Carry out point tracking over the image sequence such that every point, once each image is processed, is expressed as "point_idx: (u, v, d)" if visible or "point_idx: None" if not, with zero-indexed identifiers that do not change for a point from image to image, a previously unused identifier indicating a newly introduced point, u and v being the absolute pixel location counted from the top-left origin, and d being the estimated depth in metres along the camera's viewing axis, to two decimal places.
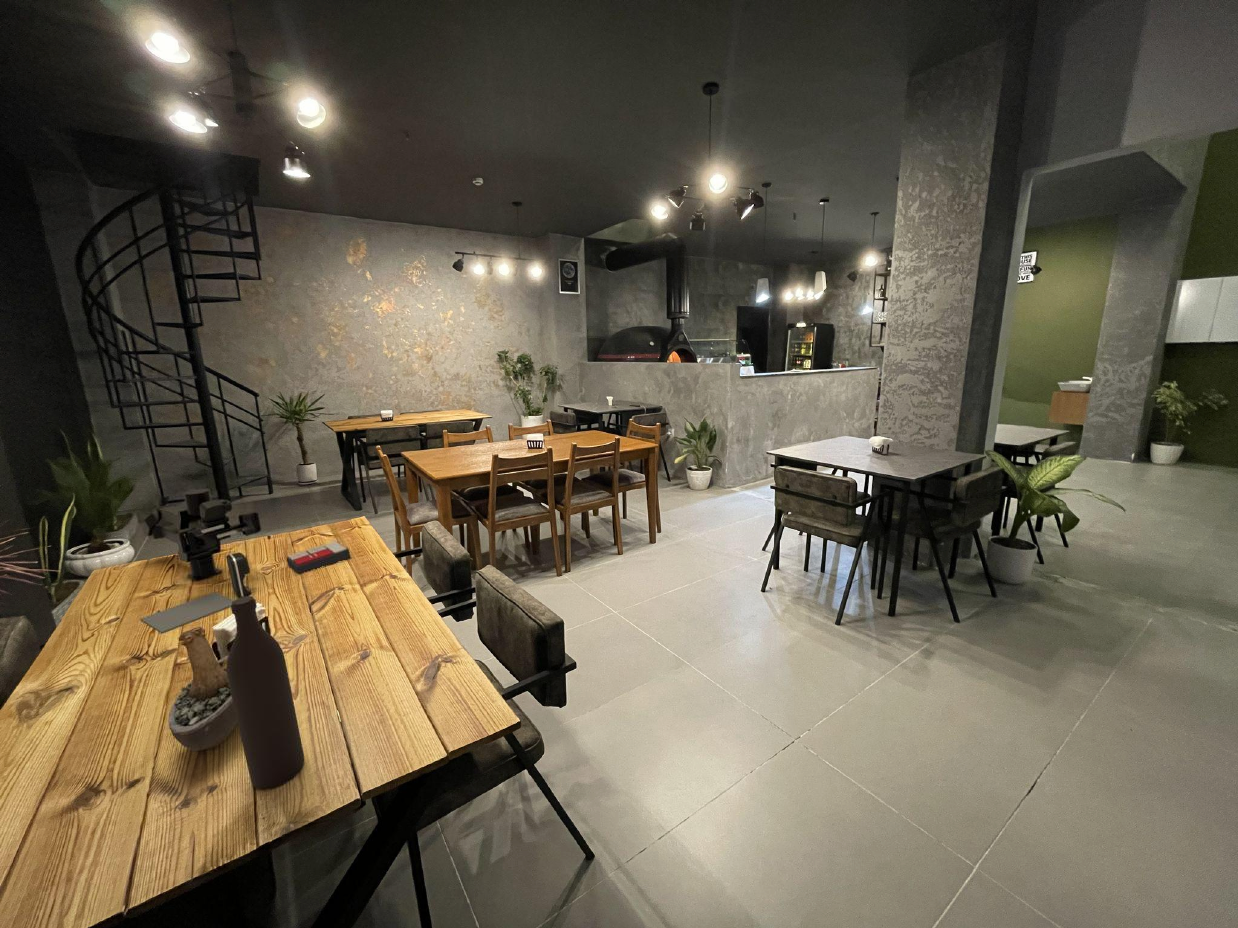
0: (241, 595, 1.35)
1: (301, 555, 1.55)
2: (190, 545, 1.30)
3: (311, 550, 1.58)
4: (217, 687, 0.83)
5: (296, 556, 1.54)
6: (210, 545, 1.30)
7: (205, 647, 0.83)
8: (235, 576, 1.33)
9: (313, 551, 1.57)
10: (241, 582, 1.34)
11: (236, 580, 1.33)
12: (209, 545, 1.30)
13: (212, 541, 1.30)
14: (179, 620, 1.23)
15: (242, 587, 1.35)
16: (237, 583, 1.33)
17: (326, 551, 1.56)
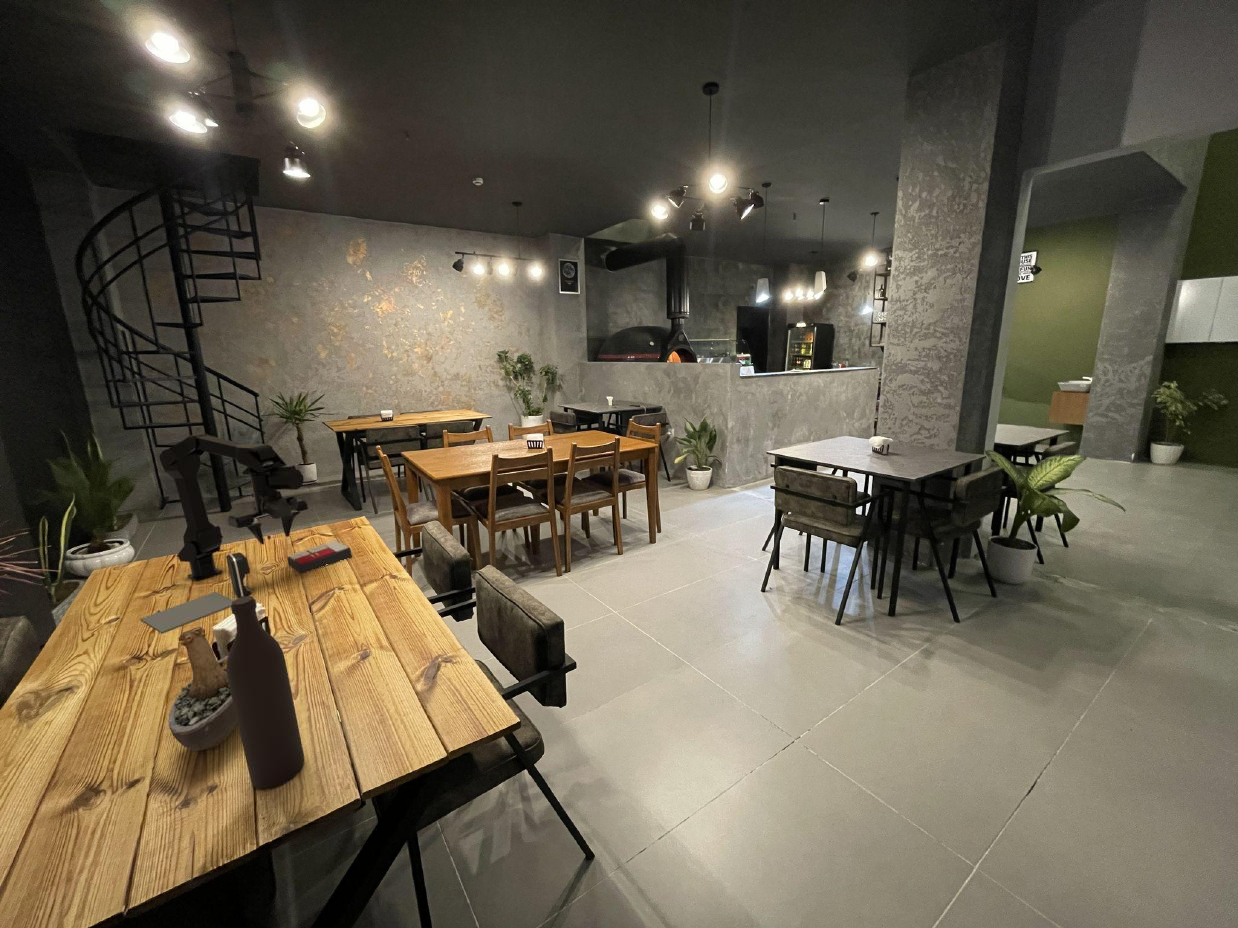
0: (241, 595, 1.35)
1: (302, 554, 1.55)
2: None
3: (312, 549, 1.58)
4: (217, 687, 0.83)
5: (297, 556, 1.54)
6: (257, 538, 1.40)
7: (205, 647, 0.83)
8: (235, 576, 1.33)
9: (314, 550, 1.57)
10: (241, 582, 1.34)
11: (236, 580, 1.33)
12: None
13: (261, 542, 1.40)
14: (179, 620, 1.23)
15: (242, 587, 1.35)
16: (237, 583, 1.33)
17: (327, 550, 1.57)
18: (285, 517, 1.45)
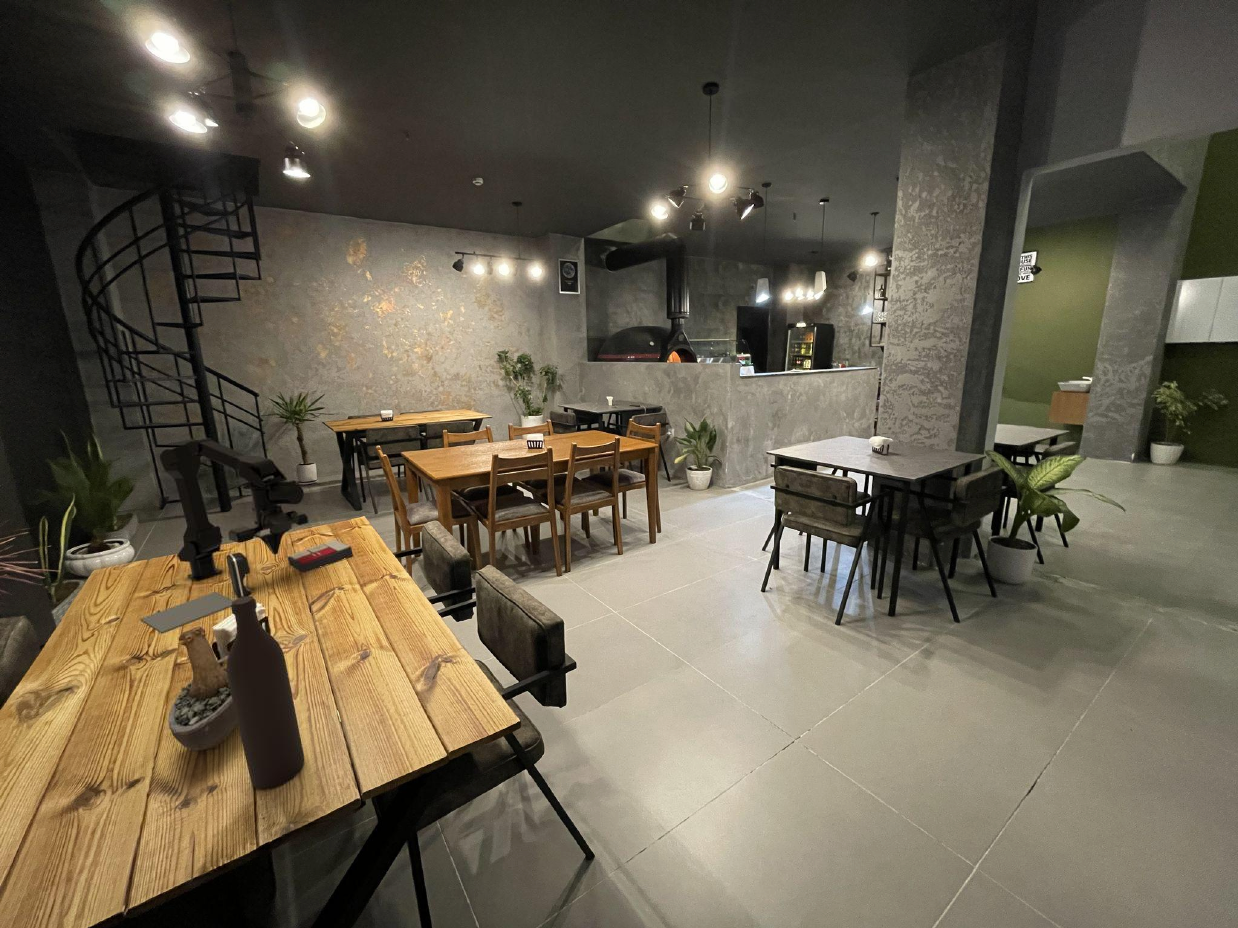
0: (241, 595, 1.35)
1: (303, 554, 1.55)
2: None
3: (312, 549, 1.59)
4: (217, 686, 0.83)
5: (298, 555, 1.55)
6: None
7: (205, 647, 0.83)
8: (235, 576, 1.33)
9: (315, 550, 1.58)
10: (241, 582, 1.34)
11: (236, 580, 1.33)
12: (269, 548, 1.43)
13: (273, 552, 1.43)
14: (179, 620, 1.23)
15: (242, 587, 1.35)
16: (237, 583, 1.33)
17: (329, 549, 1.58)
18: (274, 534, 1.43)
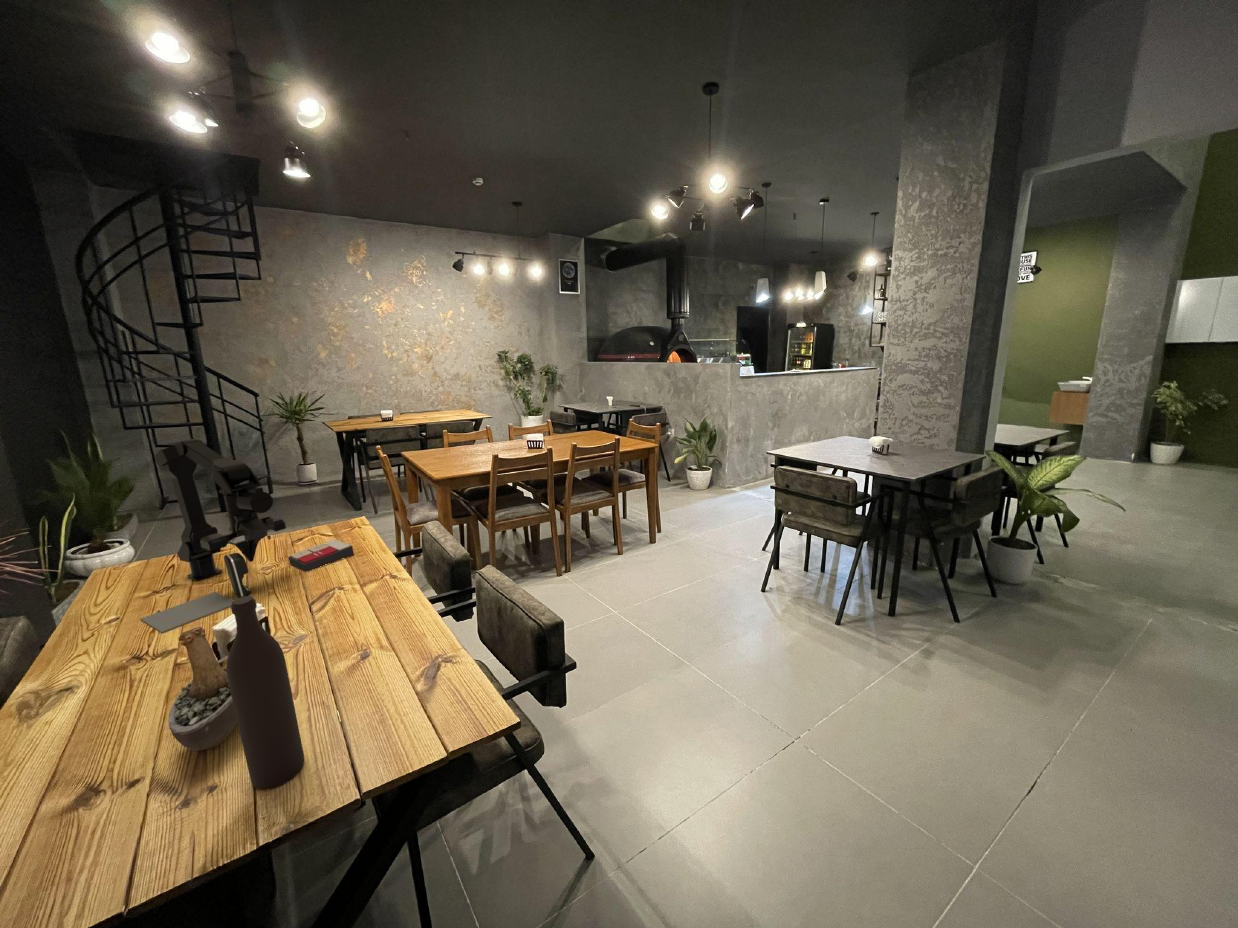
0: (241, 595, 1.35)
1: (304, 554, 1.56)
2: None
3: (313, 549, 1.59)
4: (217, 687, 0.83)
5: (299, 555, 1.55)
6: (245, 556, 1.38)
7: (205, 647, 0.83)
8: (234, 576, 1.33)
9: (316, 549, 1.58)
10: (240, 582, 1.34)
11: (235, 580, 1.33)
12: (244, 555, 1.38)
13: (249, 559, 1.38)
14: (179, 620, 1.23)
15: (241, 587, 1.34)
16: (236, 583, 1.33)
17: (330, 549, 1.58)
18: (249, 541, 1.38)
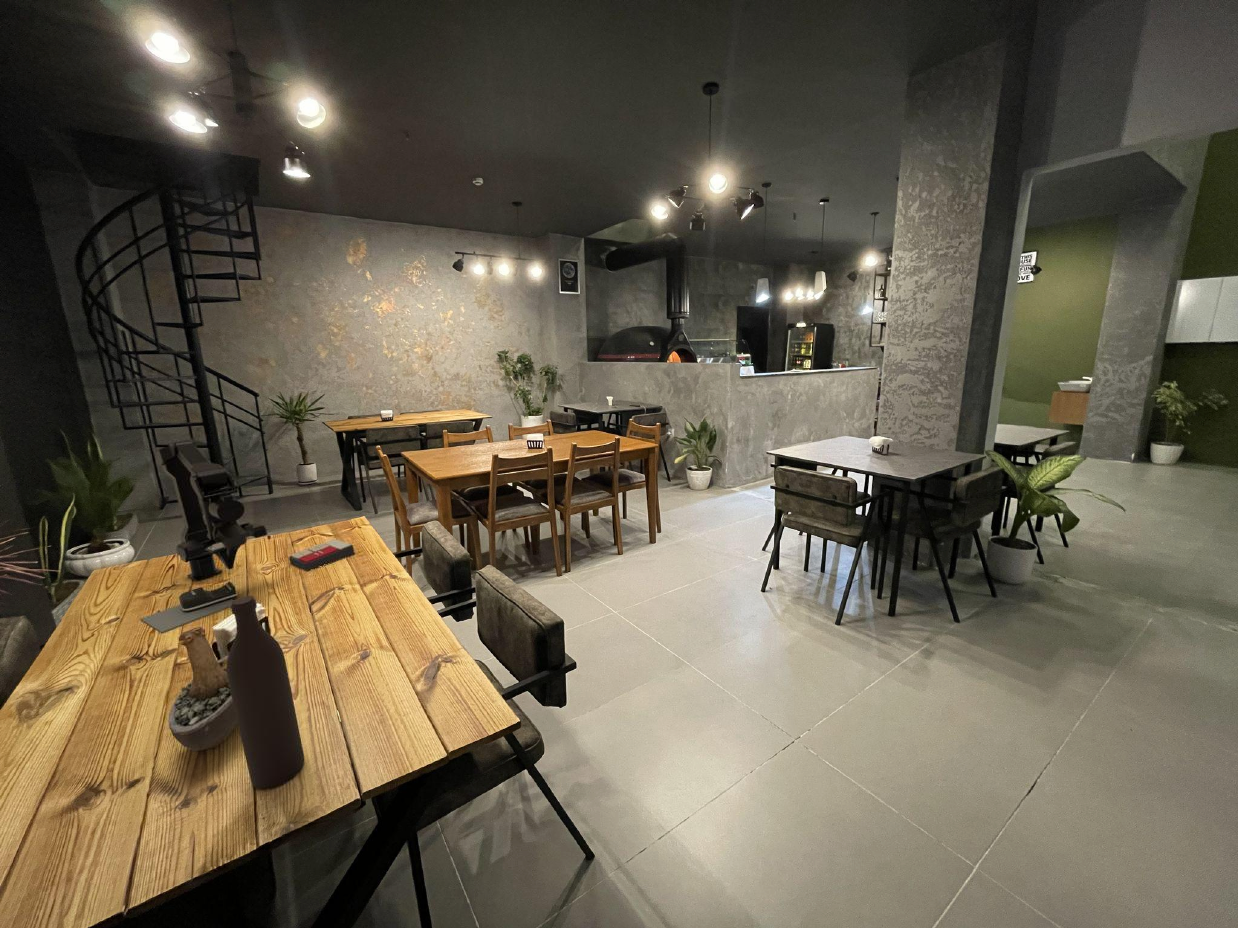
0: (235, 595, 1.34)
1: (305, 553, 1.56)
2: None
3: (313, 548, 1.59)
4: (217, 687, 0.83)
5: (300, 555, 1.55)
6: (223, 563, 1.34)
7: (205, 647, 0.83)
8: (208, 605, 1.29)
9: (316, 549, 1.59)
10: (217, 599, 1.31)
11: (213, 603, 1.30)
12: (223, 562, 1.33)
13: (227, 567, 1.33)
14: (179, 620, 1.23)
15: (224, 596, 1.32)
16: (217, 602, 1.31)
17: (330, 548, 1.59)
18: (228, 548, 1.33)
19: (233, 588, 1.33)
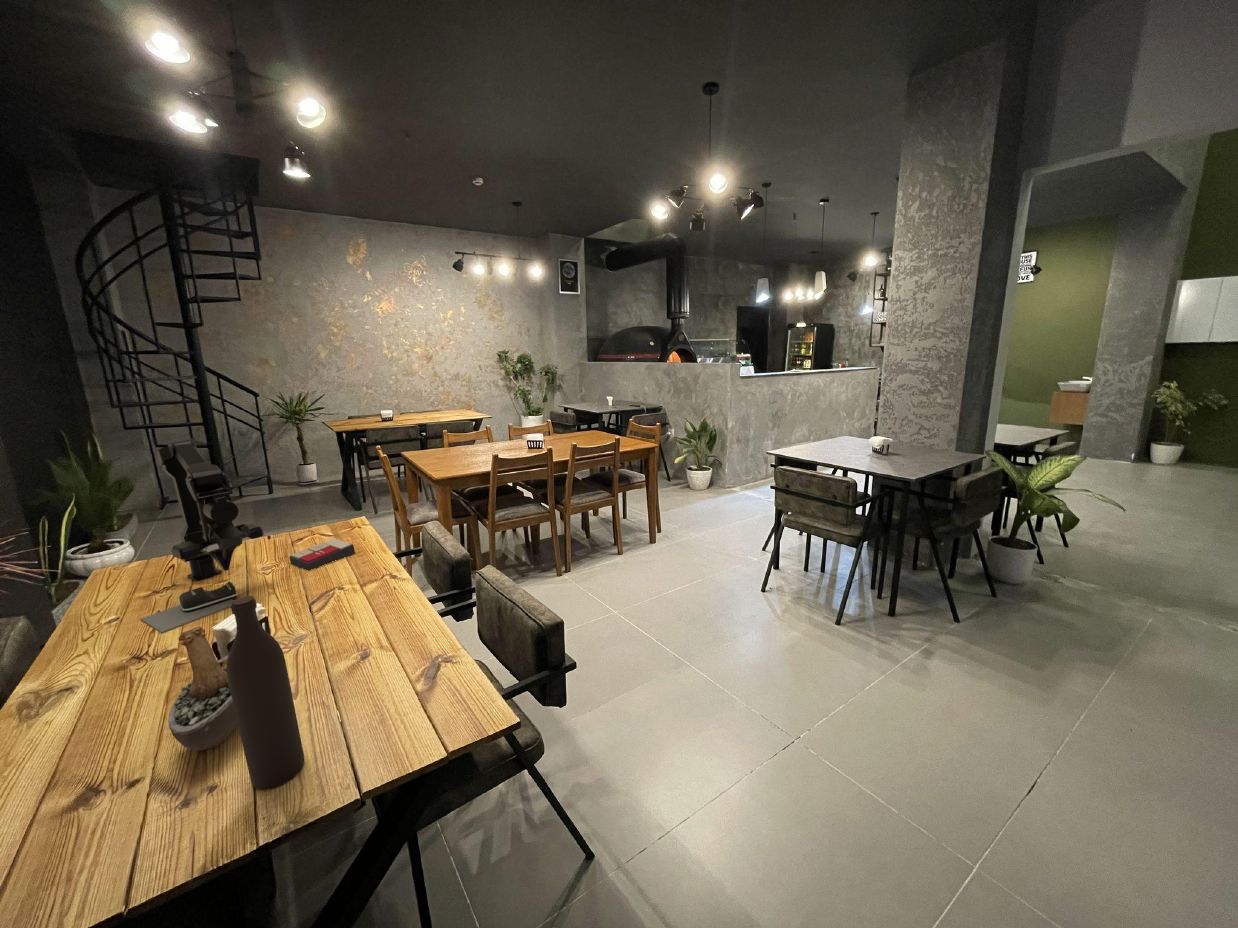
0: (235, 595, 1.34)
1: (306, 553, 1.56)
2: None
3: (314, 548, 1.60)
4: (217, 686, 0.83)
5: (301, 554, 1.55)
6: None
7: (205, 647, 0.83)
8: (208, 605, 1.29)
9: (316, 549, 1.59)
10: (217, 599, 1.31)
11: (213, 603, 1.30)
12: None
13: (223, 568, 1.33)
14: (179, 620, 1.23)
15: (224, 596, 1.32)
16: (217, 602, 1.31)
17: (331, 548, 1.59)
18: (224, 549, 1.33)
19: (233, 588, 1.33)
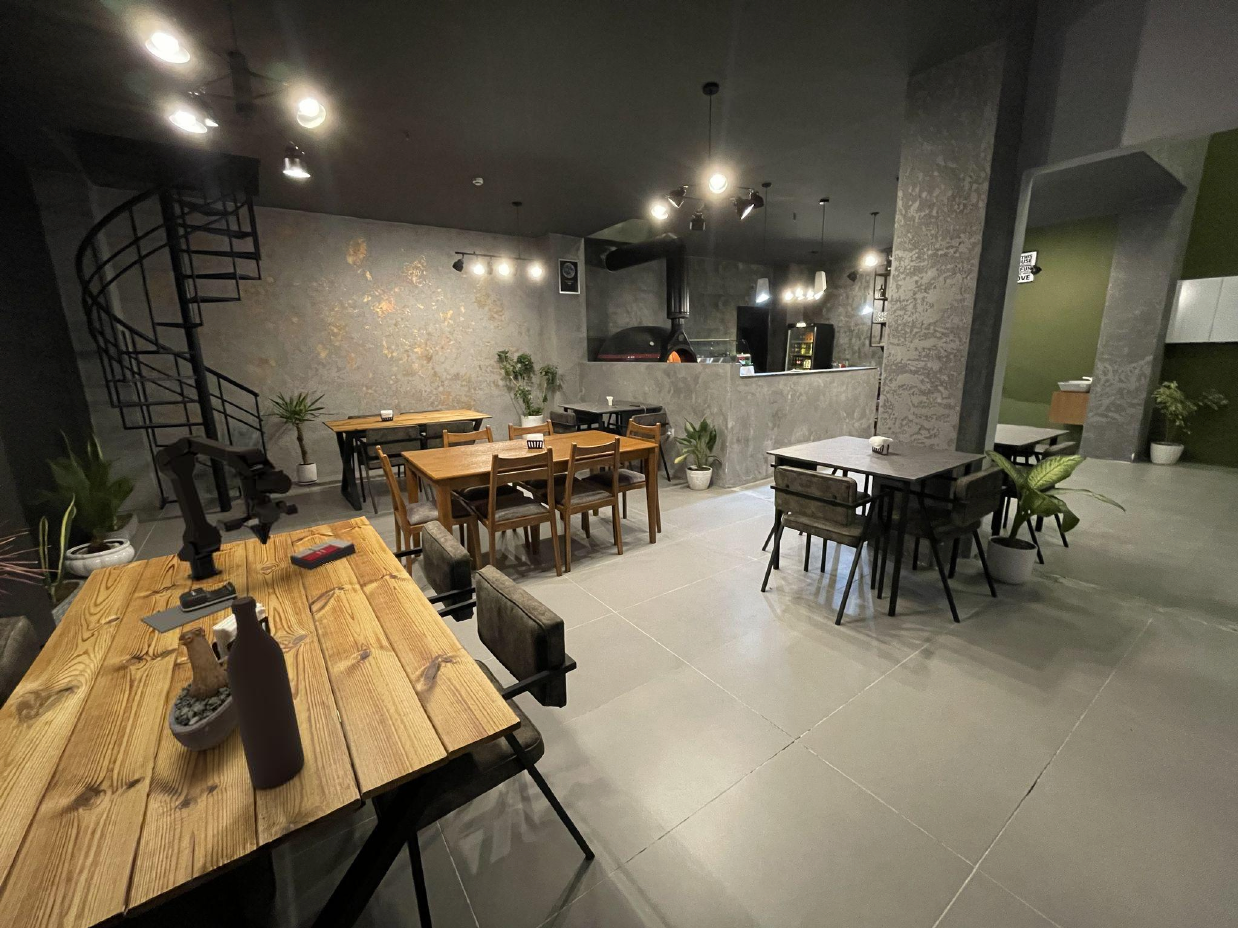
0: (235, 595, 1.34)
1: (306, 552, 1.56)
2: None
3: (314, 547, 1.60)
4: (217, 686, 0.83)
5: (302, 554, 1.56)
6: (258, 539, 1.41)
7: (205, 647, 0.83)
8: (208, 605, 1.29)
9: (317, 548, 1.59)
10: (217, 599, 1.31)
11: (213, 603, 1.30)
12: (258, 538, 1.41)
13: (262, 542, 1.41)
14: (179, 620, 1.23)
15: (224, 596, 1.32)
16: (217, 602, 1.31)
17: (332, 547, 1.60)
18: (263, 524, 1.41)
19: (233, 588, 1.33)
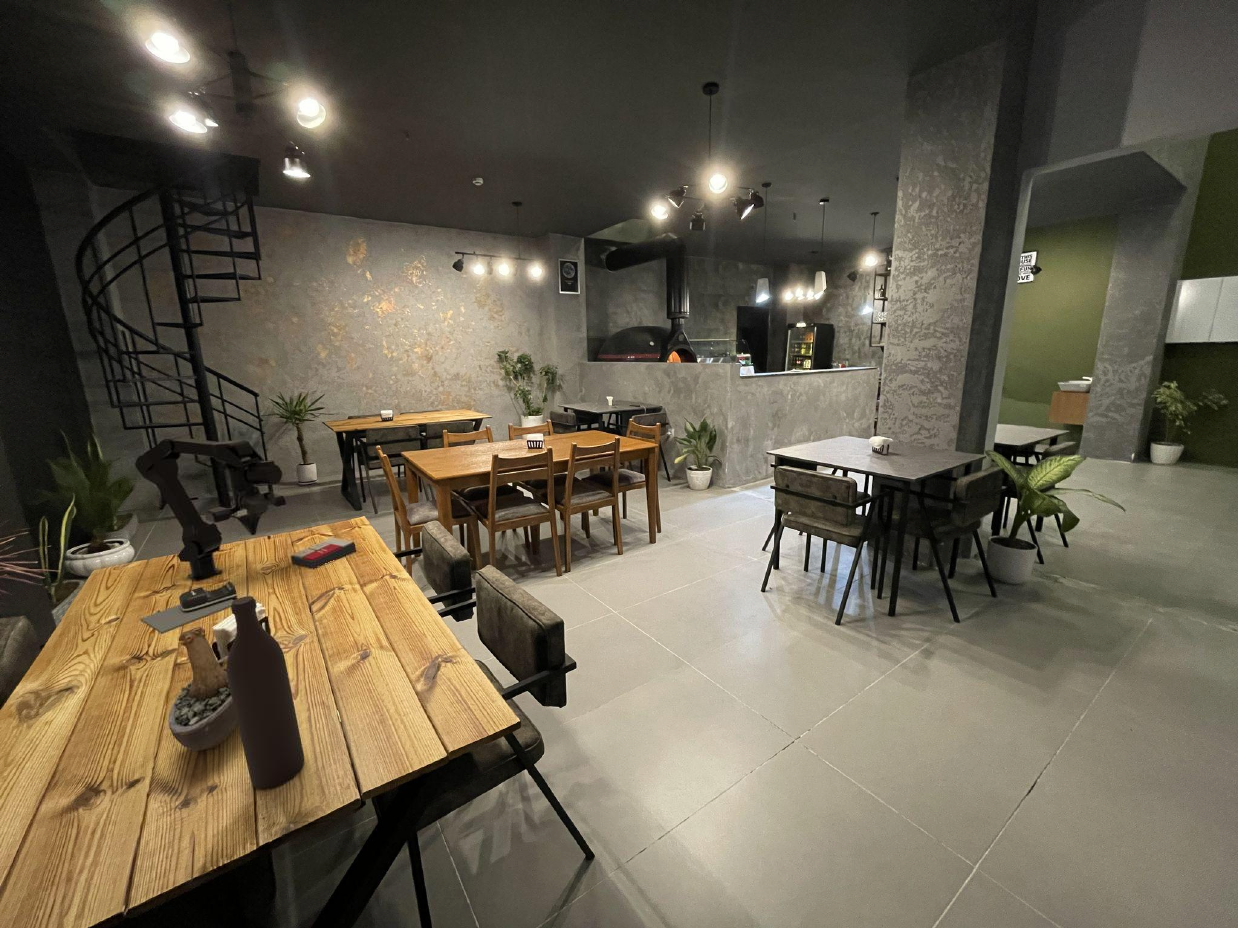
0: (235, 595, 1.34)
1: (308, 552, 1.57)
2: None
3: (314, 547, 1.60)
4: (217, 687, 0.83)
5: (303, 553, 1.56)
6: (247, 530, 1.45)
7: (205, 647, 0.83)
8: (208, 605, 1.29)
9: (318, 547, 1.60)
10: (217, 599, 1.31)
11: (213, 603, 1.30)
12: None
13: (251, 533, 1.45)
14: (179, 620, 1.23)
15: (224, 596, 1.32)
16: (217, 602, 1.31)
17: (333, 546, 1.61)
18: (251, 515, 1.45)
19: (233, 588, 1.33)
